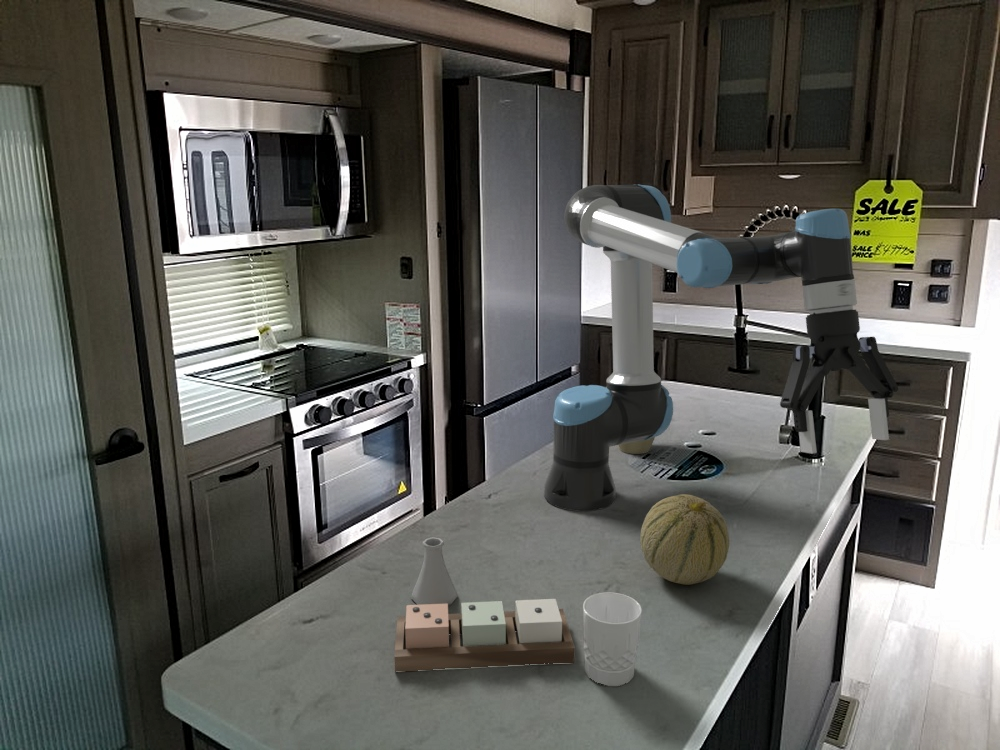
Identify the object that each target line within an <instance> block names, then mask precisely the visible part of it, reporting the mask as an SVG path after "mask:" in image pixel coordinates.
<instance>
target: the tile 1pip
mask: <svg viewBox="0 0 1000 750" xmlns="http://www.w3.org/2000/svg"><path fill="white" fill-rule="evenodd" d="M514 605H515V608H514V609H515V610H514V611H515V621H516V626H517V632H516V633H517V637H518V641H519V644H526V643H547V642H560V641H562V619H561V616H560V612H559V609H560V608H559V607H558V602H557V598H545V599H544V598H543V599H541V598H540V599H522V600H519V599H518V600H515V604H514Z"/></svg>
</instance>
